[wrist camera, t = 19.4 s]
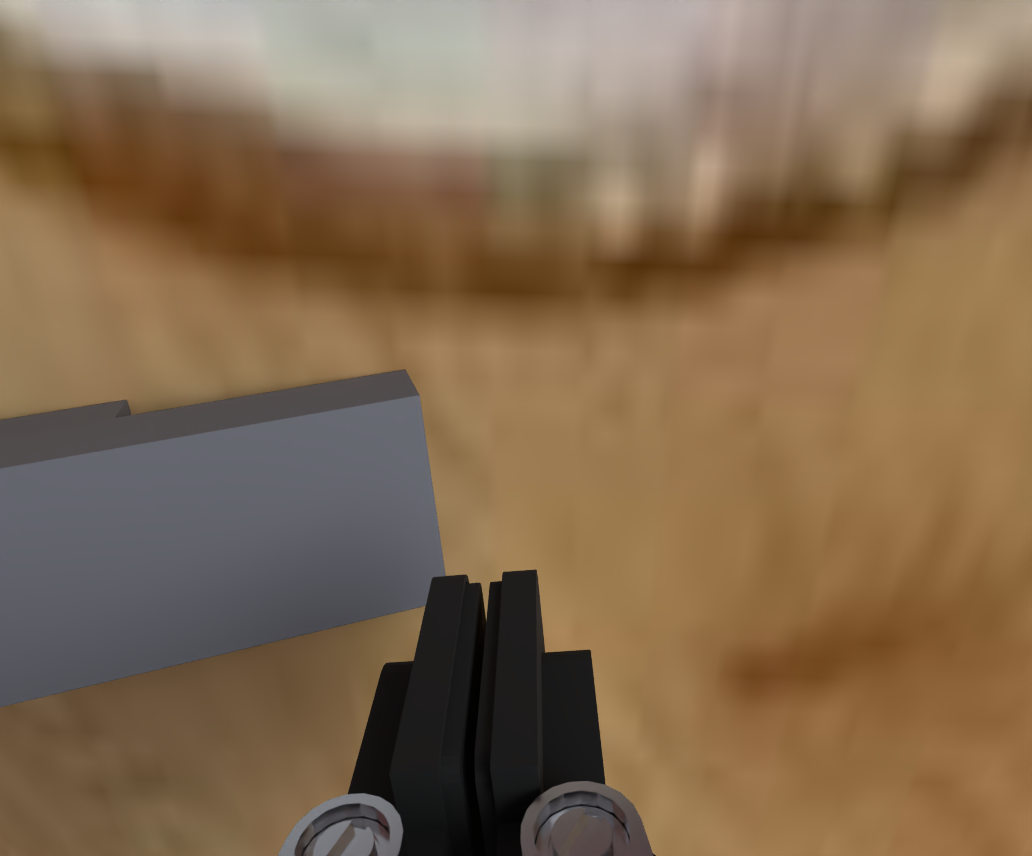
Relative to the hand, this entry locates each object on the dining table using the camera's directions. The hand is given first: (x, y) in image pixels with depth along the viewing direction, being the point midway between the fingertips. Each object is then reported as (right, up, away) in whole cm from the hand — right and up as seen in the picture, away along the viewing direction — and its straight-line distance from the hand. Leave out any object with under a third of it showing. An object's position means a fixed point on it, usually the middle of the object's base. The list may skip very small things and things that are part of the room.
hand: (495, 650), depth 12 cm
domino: (-2, +2, +5) cm, 6 cm away
